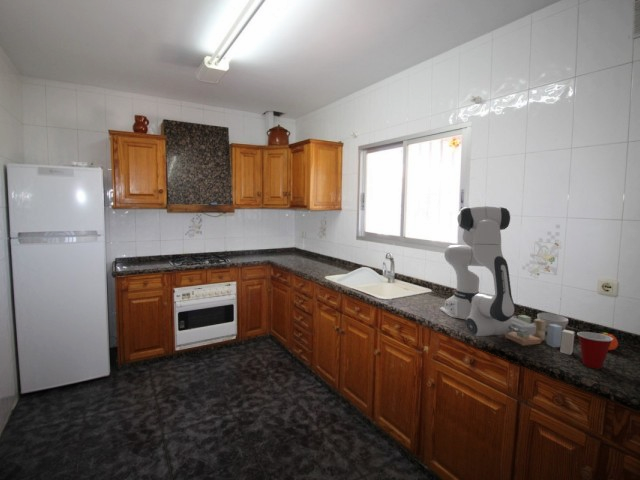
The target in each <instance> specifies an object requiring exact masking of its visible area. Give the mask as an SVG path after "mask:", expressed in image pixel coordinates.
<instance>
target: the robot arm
mask: <svg viewBox="0 0 640 480" xmlns="http://www.w3.org/2000/svg"><path fill="white" fill-rule="evenodd" d="M510 222H511V213H510V210H508V209H507V208H505V207H502V206H498V207H496V206H471V207H470V206H467V207H466V206H465V207H461V209H459V212H458V214H457V223H458V227H460V228H461V229H462V231H463V232H462V241H463V242H464V243H465V244H454V245H448V246H447V247H446V248H445V250H444V259H445V261H446V262H447V263H448V264H449V265H451V267H452V269H453V270H454V271H455V275H456V289H454V290H453V295H452V296H450V297H449V298H447V299H446V300H445V301H444V306H441V307H440V308H439V310H441V311H442V312H443V313H444V314H446V315H448V316H449V317H450V318H454V319H455V318H456V319H462V320H465V327H466V329H467V330H468V332H470V333H471V334H472V335H474V336H477V337H485V336H487V337H490V336H493V335H495V336H497V335H498V336H499V335H505V334H508V333H509V332H516V333H518V334H522V335H534V334H535V333H536V324H535V323H534V322H530V323H527V322H524V321H522V320H519V319H518V316H517V315H514V314H515V312H516V311H515V310H516V308H515V307H516V306H515V303H514V299H513V295H512V287H511V286H512V285H511V279H510V271H509V265H508V262H507V260H506V258H505V257H504V255H503V251H502V233H501V231H502V230H506V229H507V228H509V226H510ZM470 266H471V267H485V268H486V269H488V270H489V271H490V273H491V274H492V277H493V285H494V287H493V288H494V294H491V293H485V292H480V288H479V287H480V277H479V276H478V275H477V274H476V273H475V272H472V270H471V271H470V270H469V267H470Z"/></svg>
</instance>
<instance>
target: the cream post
mask: <svg viewBox="0 0 640 480" xmlns="http://www.w3.org/2000/svg"><path fill="white" fill-rule="evenodd" d="M574 342H575V331H573V330H569V329H568V330H567V329H566V328H565V329H564V330H563V331H562V334H561V344H560V347H559V348H560V350H559V353H561V354H565V355H567V356H568V355H569V356H571V355H572V353H573V349H574Z"/></svg>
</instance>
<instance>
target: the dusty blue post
mask: <svg viewBox="0 0 640 480" xmlns="http://www.w3.org/2000/svg"><path fill="white" fill-rule="evenodd" d="M546 335H547V336H546V345H548V346H550V347H551V348H560V347H561V338H562V327H561V326H559V325H557V324H548V333H547V334H546Z"/></svg>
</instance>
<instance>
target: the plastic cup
mask: <svg viewBox="0 0 640 480" xmlns="http://www.w3.org/2000/svg"><path fill="white" fill-rule="evenodd" d="M576 335H577V336H578V340H579V344H580V354H581V361H582V364H583V365H584V366H586V367H588V368H592V369H597V370H599V369H602V367H603V365H604V362H605V360H606V357H607V354H608V351H609V350H608V349H609V347H610V344H611V342H612V340H613V338H612V337H610V336H607V335H603V333H601V334H599V333H597V332H590V331H580V332H579V331H578V332H577V333H576Z"/></svg>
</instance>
